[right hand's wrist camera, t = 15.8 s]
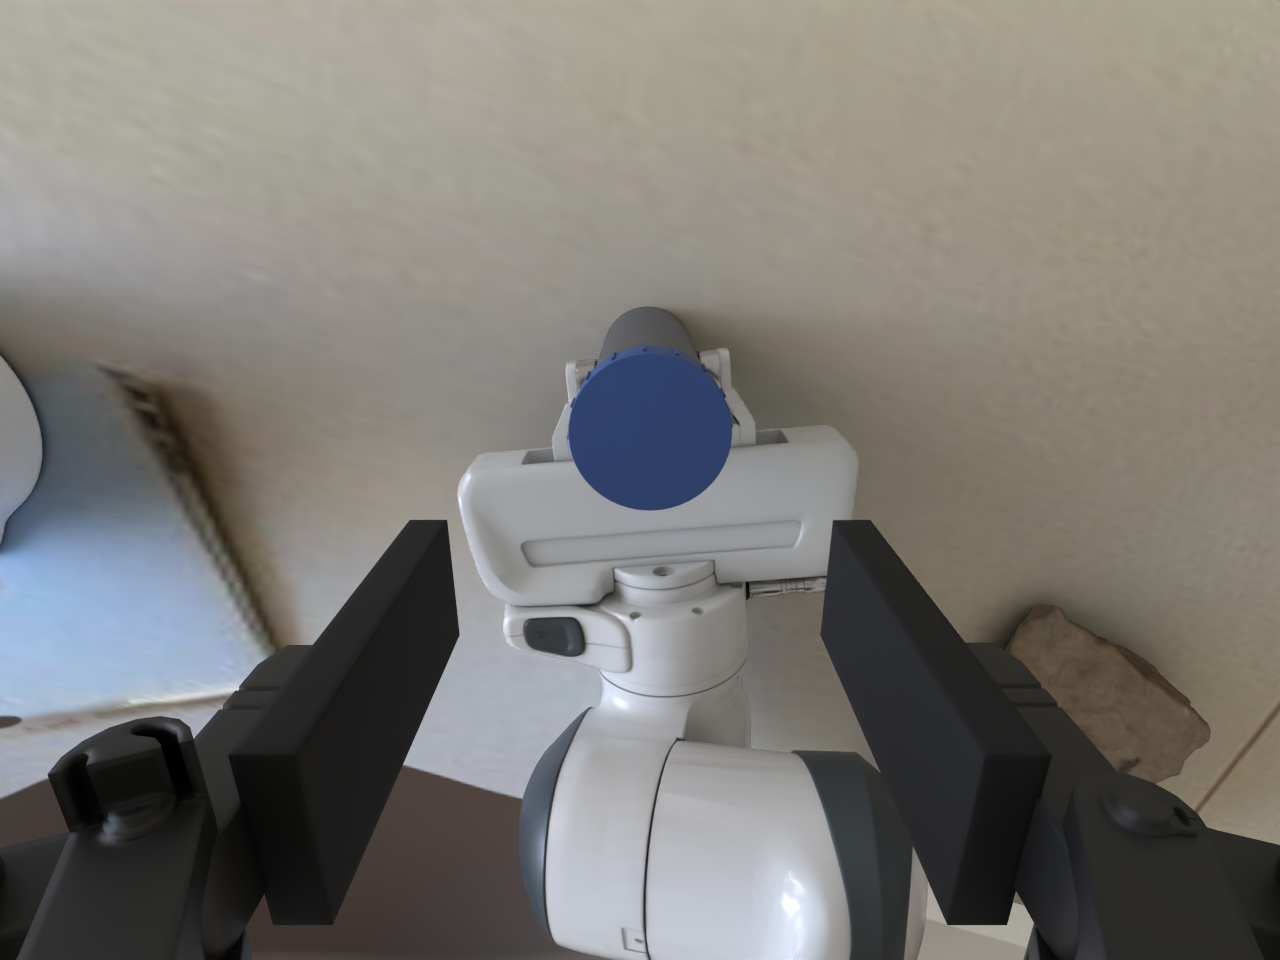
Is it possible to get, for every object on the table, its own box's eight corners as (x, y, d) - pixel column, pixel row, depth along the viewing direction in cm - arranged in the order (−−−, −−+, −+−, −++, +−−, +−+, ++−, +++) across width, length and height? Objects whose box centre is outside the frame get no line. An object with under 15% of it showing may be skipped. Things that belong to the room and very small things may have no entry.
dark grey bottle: (656, 287, 38) (663, 330, 23) (709, 359, 40) (749, 444, 25) (585, 343, 40) (549, 419, 24) (640, 411, 41) (637, 523, 26)
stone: (1012, 917, 51) (1051, 984, 45) (841, 805, 51) (856, 857, 45) (1195, 691, 48) (1262, 731, 42) (1009, 576, 48) (1050, 599, 42)
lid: (665, 310, 24) (666, 316, 23) (758, 436, 26) (765, 449, 24) (539, 408, 25) (533, 421, 24) (635, 522, 27) (635, 540, 25)
